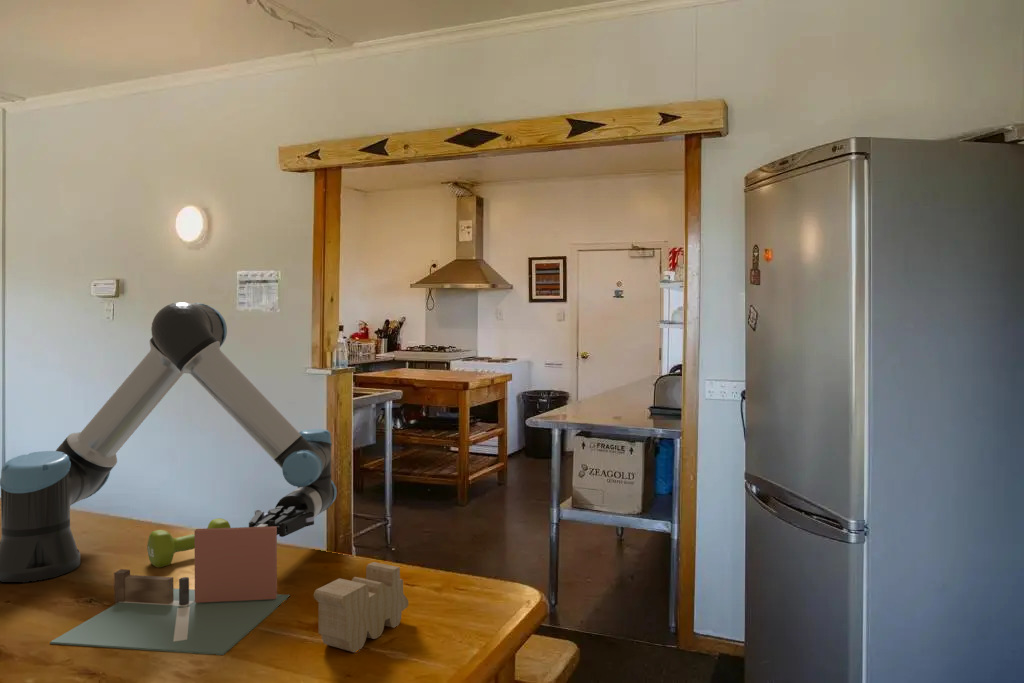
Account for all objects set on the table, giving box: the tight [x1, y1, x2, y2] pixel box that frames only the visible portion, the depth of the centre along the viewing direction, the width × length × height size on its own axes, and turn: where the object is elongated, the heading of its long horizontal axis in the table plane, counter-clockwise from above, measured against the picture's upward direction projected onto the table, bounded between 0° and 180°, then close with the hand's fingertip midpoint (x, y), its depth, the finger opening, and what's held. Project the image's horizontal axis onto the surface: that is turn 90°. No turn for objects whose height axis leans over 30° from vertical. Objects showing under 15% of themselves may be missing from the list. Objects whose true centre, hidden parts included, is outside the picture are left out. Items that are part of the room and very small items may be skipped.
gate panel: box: [193, 526, 278, 603], centre depth 128 cm, size 14×1×13 cm, turn 98°
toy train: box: [313, 561, 409, 653], centre depth 114 cm, size 6×17×10 cm, turn 152°
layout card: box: [49, 587, 291, 656], centre depth 121 cm, size 29×24×1 cm
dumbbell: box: [146, 517, 232, 568], centre depth 152 cm, size 16×8×7 cm, turn 135°
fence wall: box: [113, 569, 190, 605], centre depth 127 cm, size 14×2×6 cm, turn 83°
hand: (248, 541), depth 130 cm, fingers closed
